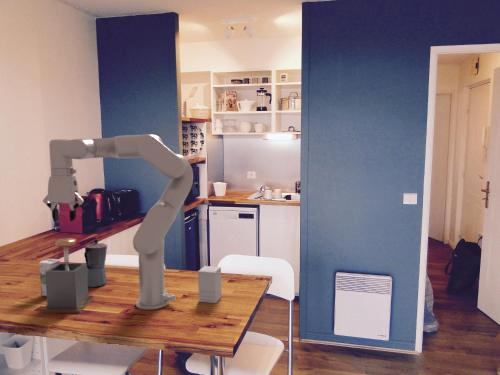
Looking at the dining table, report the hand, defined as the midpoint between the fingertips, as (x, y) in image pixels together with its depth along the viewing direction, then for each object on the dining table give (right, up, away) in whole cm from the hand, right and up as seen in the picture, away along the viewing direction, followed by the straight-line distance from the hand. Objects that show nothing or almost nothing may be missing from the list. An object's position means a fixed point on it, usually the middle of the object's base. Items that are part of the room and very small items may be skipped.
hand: (64, 220), depth 159 cm
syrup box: (-12, -32, +15) cm, 37 cm away
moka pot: (+2, -31, +27) cm, 41 cm away
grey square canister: (0, -33, +4) cm, 34 cm away
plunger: (0, -22, +3) cm, 22 cm away
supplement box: (+54, -33, +10) cm, 64 cm away
